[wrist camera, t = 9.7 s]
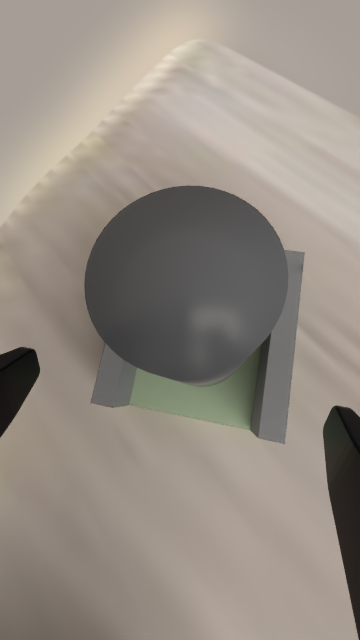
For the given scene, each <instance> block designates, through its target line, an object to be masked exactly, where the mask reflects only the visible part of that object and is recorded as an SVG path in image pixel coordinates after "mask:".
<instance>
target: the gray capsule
mask: <svg viewBox="0 0 360 640" xmlns="http://www.w3.org/2000/svg"><path fill="white" fill-rule="evenodd" d="M288 276H289V275H288V265H287V259H286V255H285V251H284V248H283V246H282V244H281V241H280V239H279V237H278V235H277V233H276V232H275V230H274V228H273V227H272V226H271V224H270V223H269V222H268V221H267V219H266V218H265V217H264V216H263V215H262V214H261V213H260V212H259V211H258V210H257V209H256V208H254V207H253V206H251V205H250V204H249V203H247V202H246V201H244V200H242V199H241V198H239V197H237V196H235V195H233V194H230V193H228V192H225V191H222V190H218V189H215V188H209V187H203V186H179V187H172V188H167V189H162V190H159V191H156V192H153V193H150V194H148V195H146V196H144V197H141V198H140V199H138V200H136V201H134V202H133V203H131V204H129V205H128V206H127V207H125V208H124V209H123V210H121V211H120V212H119V213H118V214H117V215H116V216H115V217H114V218H113V219H112V220H111V221H110V222H109V223H108V224H107V226H106V227H105V228H104V229H103V231H102V232H101V234H100V235H99V237H98V238H97V240H96V242H95V244H94V246H93V248H92V251H91V254H90V257H89V259H88V263H87V268H86V273H85V299H86V304H87V309H88V312H89V315H90V317H91V320H92V322H93V324H94V326H95V328H96V330H97V332H98V334H99V335H100V336H101V338H102V339H103V341H104V342H105V343H106V344H107V345H108V346H109V347H110V349H111V350H112V351H113V352H114V353H116V354H117V355H118V356H119V357H121V358H122V359H123V360H125V361H126V362H128V363H130V364H131V365H133V366H135V367H137V368H139V369H141V370H144V371H146V372H149V373H152V374H155V375H158V376H162V377H165V378H168V379H171V380H175V381H178V382H181V383H184V384H188V385H191V386H197V387H207V386H212V385H216V384H218V383H221V382H222V381H224V380H226V379H227V378H228V377H230V376H231V375H232V374H233V373H234V372H235V371H236V370H237V369H238V368H239V367H240V366H241V365H242V363H243V362H244V361H245V360H246V359H247V358H248V357H249V356H250V355H251V354H252V353H253V352H254V351H255V350H256V349H257V348H258V347H259V346H260V345H261V344H262V343H263V342H264V341H265V339H266V338H267V337H268V336H269V334H270V333H271V331H272V330H273V329H274V327H275V325H276V323H277V321H278V319H279V317H280V316H281V313H282V310H283V307H284V304H285V301H286V296H287V291H288Z"/></svg>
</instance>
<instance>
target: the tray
mask: <svg viewBox="0 0 360 640" xmlns="http://www.w3.org/2000/svg"><path fill="white" fill-rule="evenodd" d="M284 251H285V255H286V259H287V265H288V275H289V276H288V291H287V296H286V301H285V304H284V307H283V310H282V313H281V316H280V317H279V319H278V321H277V323H276V325H275V327H274V329H273V330H272V331H271V333H270V334H269V336H268V337H267V338H266V339H265V341H264V342H263V343H262V344H261V345H260V346H259V347H258V348H257V349H256V350H255V351H254V352H253V353H252V354H251V355H250V356H249V357H248V358H247V359H246V360H245V361H244V362H243V363H242V365H241V366H240V367H239V368H238V369H237V370H236V371H235V372H234V373H233V374H232V375H231V376H230V377H228V378H227V379H226V380H224V381H222V382H221V383H218V384H216V385H212V386H207V387H197V386H191V385H188V384H184V383H181V382H178V381H175V380H171V379H168V378H165V377H162V376H158V375H155V374H152V373H149V372H146V371H144V370H141V369H139V368H137V367H135V366H133V365H131V364H130V363H128V362H126V361H125V360H123V359H122V358H121V357H119V356H118V355H117V354H116V353H114V352H113V351H112V350H111V349H110V347H109V346H108V345H107V344H106V343H105V346H104V350H103V354H102V358H101V362H100V366H99V370H98V375H97V379H96V383H95V387H94V391H93V395H92V399H91V403H93V404H97V405H102V406H107V407H112V408H114V407H120V406H126V405H131V406H136V407H141V408H146V409H150V410H155V411H160V412H165V413H170V414H175V415H180V416H184V417H189V418H194V419H199V420H204V421H209V422H213V423H218V424H223V425H228V426H233V427H238V428H242V429H247V430H251V431H252V432H253V433H254V434H255V435H256V436H257V437H258V438H260V439H264V440H269V441H274V442H279V443H283V444H285V436H286V427H287V417H288V407H289V398H290V388H291V378H292V369H293V359H294V349H295V340H296V330H297V320H298V311H299V301H300V292H301V282H302V272H303V263H304V253H305V252H297V251H288V250H284Z"/></svg>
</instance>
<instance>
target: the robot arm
mask: <svg viewBox="0 0 360 640" xmlns="http://www.w3.org/2000/svg"><path fill="white" fill-rule="evenodd" d="M39 373H40V366H39V362H38V358H37V354H36V351H35V350H34V349H31V348H26V347H19V348H17V349H14V350H12V351H9V352H7V353H4V354H1V355H0V437H1V436H2V435H3V433H4V432H5V430H6V429H7V428H8V426H9V425H10V423H11V422H12V420H13V419H14V417H15V416H16V414H17V413H18V411H19V409H20V408H21V406H22V404H23V402H24V401H25V399H26V397H27V395H28V394H29V392H30V390H31V388H32V387H33V385H34V383H35V382H36V380H37V378H38V376H39ZM323 438H324V449H325V461H326V472H327V482H328V490H329V496H330V501H331V506H332V511H333V515H334V520H335V525H336V530H337V535H338V540H339V545H340V550H341V555H342V560H343V564H344V569H345V574H346V579H347V584H348V589H349V594H350V599H351V604H352V609H353V613H354V618H355V623H356V628H357V633H358V638H359V640H360V417H359V416H358V415H357V414H356V413H355V412H354V411H353V410H352V409H350V408H348V407H342V406H334V407H333V408H332V409H331V411H330V413H329V416H328V418H327V420H326V422H325V424H324V428H323Z"/></svg>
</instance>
